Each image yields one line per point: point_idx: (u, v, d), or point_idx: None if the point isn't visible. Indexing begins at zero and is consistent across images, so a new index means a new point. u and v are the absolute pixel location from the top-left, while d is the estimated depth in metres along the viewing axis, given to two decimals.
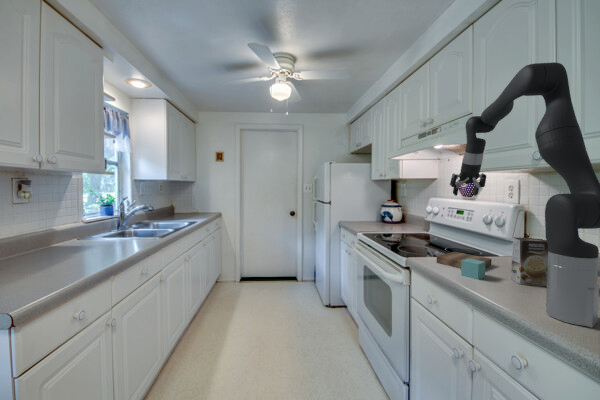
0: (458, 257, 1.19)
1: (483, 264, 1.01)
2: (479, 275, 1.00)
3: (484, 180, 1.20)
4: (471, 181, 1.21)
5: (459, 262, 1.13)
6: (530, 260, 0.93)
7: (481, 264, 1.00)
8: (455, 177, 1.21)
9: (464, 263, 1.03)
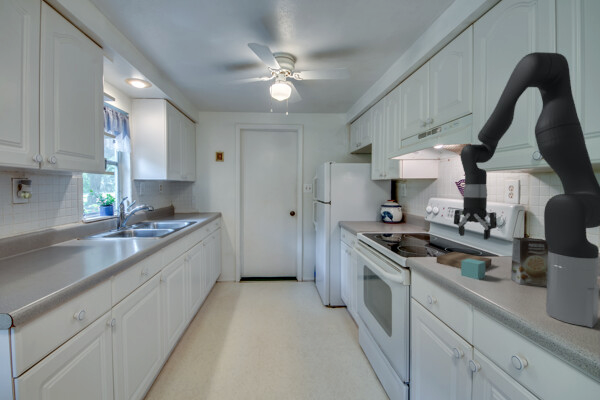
0: (458, 257, 1.19)
1: (483, 264, 1.01)
2: (479, 275, 1.00)
3: (492, 219, 0.96)
4: (475, 219, 1.01)
5: (459, 262, 1.13)
6: (530, 260, 0.93)
7: (481, 264, 1.00)
8: (455, 212, 1.07)
9: (464, 264, 1.03)
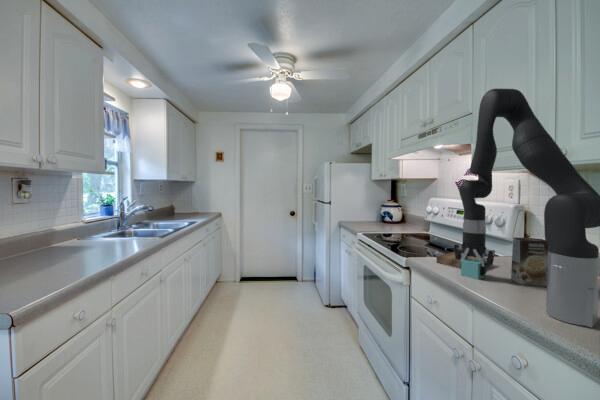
0: None
1: None
2: (479, 275, 1.00)
3: (489, 257, 0.97)
4: (474, 254, 1.02)
5: (459, 262, 1.13)
6: (530, 260, 0.93)
7: None
8: (455, 247, 1.07)
9: (464, 263, 1.03)
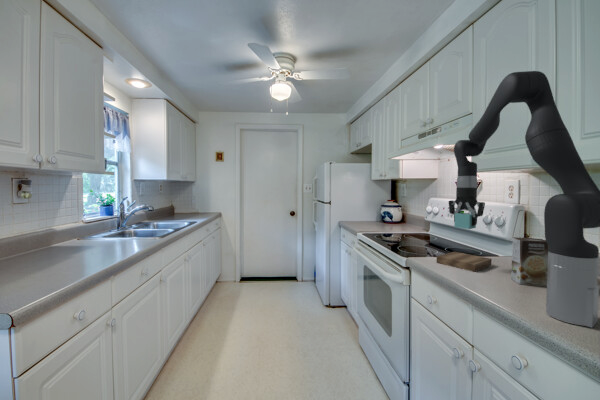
0: (458, 257, 1.19)
1: None
2: (470, 225, 1.11)
3: (480, 208, 1.08)
4: (466, 207, 1.13)
5: (459, 262, 1.13)
6: (530, 260, 0.93)
7: None
8: (449, 203, 1.18)
9: (457, 216, 1.14)
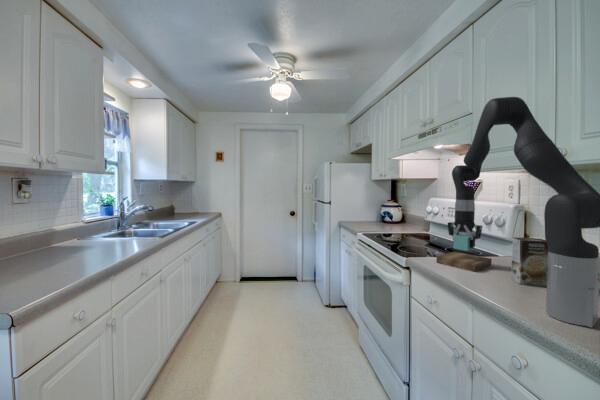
0: (458, 257, 1.19)
1: None
2: (468, 247, 1.15)
3: (477, 231, 1.13)
4: (464, 229, 1.17)
5: (459, 262, 1.13)
6: (530, 260, 0.93)
7: None
8: (448, 224, 1.23)
9: (456, 238, 1.19)
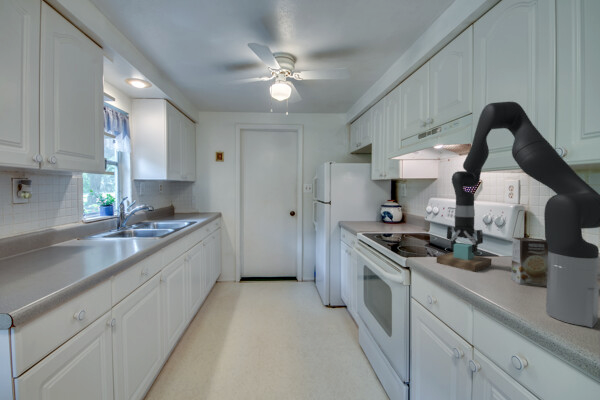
0: None
1: None
2: (468, 256, 1.16)
3: (478, 236, 1.13)
4: (465, 235, 1.17)
5: (459, 262, 1.13)
6: (530, 260, 0.93)
7: (470, 246, 1.16)
8: (448, 229, 1.23)
9: (456, 246, 1.19)
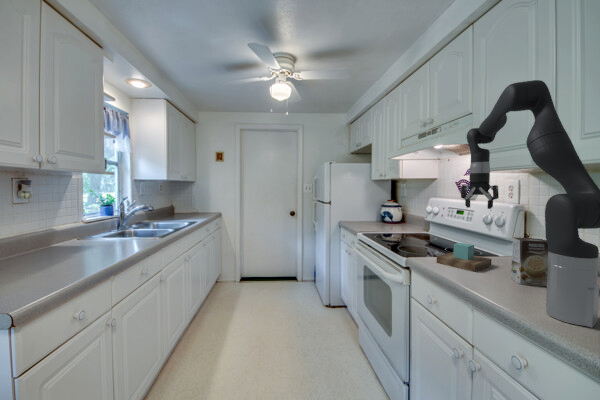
0: None
1: (472, 247, 1.17)
2: (468, 256, 1.16)
3: (494, 191, 1.13)
4: (480, 192, 1.17)
5: (459, 262, 1.13)
6: (530, 260, 0.93)
7: (470, 246, 1.16)
8: (462, 187, 1.23)
9: (456, 246, 1.19)
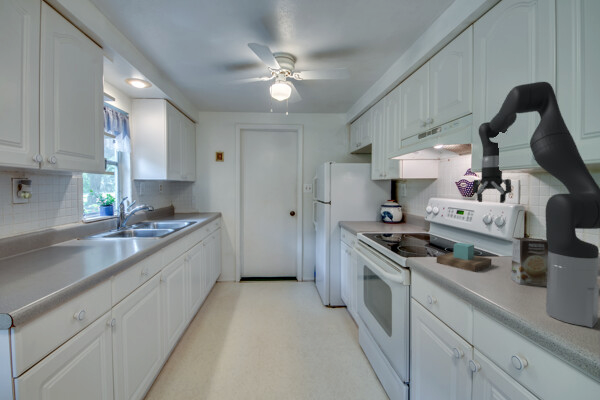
0: None
1: (472, 247, 1.17)
2: (468, 256, 1.16)
3: (507, 185, 1.13)
4: (492, 186, 1.17)
5: (459, 262, 1.13)
6: (530, 260, 0.93)
7: (470, 246, 1.16)
8: (474, 182, 1.23)
9: (456, 246, 1.19)
